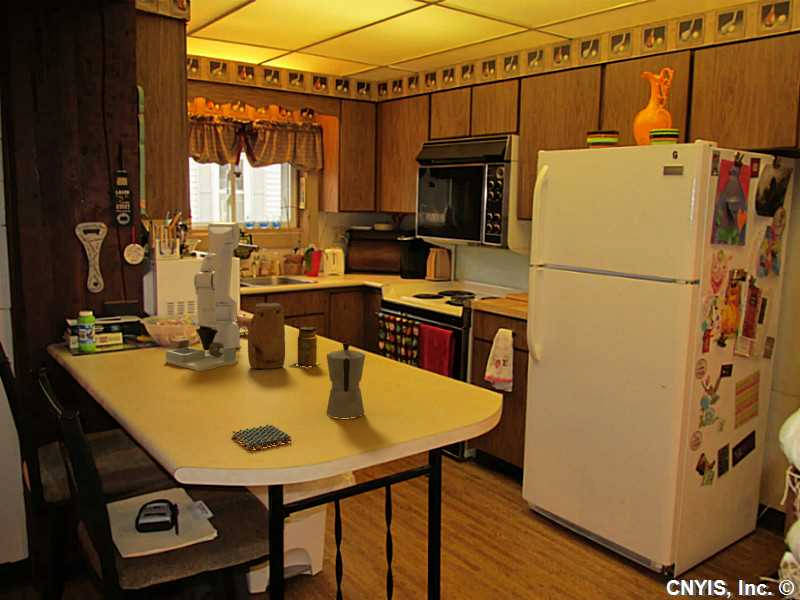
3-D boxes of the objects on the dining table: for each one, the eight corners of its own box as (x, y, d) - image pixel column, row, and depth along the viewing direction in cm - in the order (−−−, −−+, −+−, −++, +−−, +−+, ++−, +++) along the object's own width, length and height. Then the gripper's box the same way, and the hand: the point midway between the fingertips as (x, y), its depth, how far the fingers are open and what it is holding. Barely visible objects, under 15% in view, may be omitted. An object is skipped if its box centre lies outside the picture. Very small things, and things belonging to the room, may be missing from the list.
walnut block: (180, 355, 227) (180, 337, 226) (189, 357, 224) (188, 339, 224) (170, 357, 224) (169, 339, 223) (178, 359, 221) (178, 341, 220)
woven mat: (249, 454, 142) (249, 445, 141) (229, 439, 150) (229, 431, 150) (294, 445, 148) (294, 436, 148) (273, 431, 156) (273, 422, 156)
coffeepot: (326, 406, 175) (326, 337, 172) (363, 406, 175) (364, 337, 173) (325, 425, 159) (326, 350, 157) (366, 425, 160) (367, 350, 158)
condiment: (321, 363, 220) (322, 327, 218) (308, 369, 212) (308, 331, 210) (302, 361, 223) (302, 325, 221) (288, 366, 215) (288, 329, 213)
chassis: (205, 354, 229) (205, 338, 228) (238, 362, 219) (238, 346, 218) (166, 362, 217) (165, 345, 216) (199, 371, 207) (198, 353, 206)
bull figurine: (241, 331, 270) (241, 311, 269) (258, 337, 260) (258, 316, 259) (231, 332, 267) (231, 312, 266) (247, 338, 257) (247, 317, 256)
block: (279, 363, 219) (279, 301, 217) (286, 368, 213) (286, 304, 210) (246, 366, 215) (245, 303, 212) (252, 371, 208) (251, 306, 205)
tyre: (219, 354, 223) (219, 341, 222) (224, 355, 221) (224, 342, 221) (208, 356, 219) (208, 343, 219) (213, 357, 218) (212, 344, 217)
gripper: (182, 307, 222) (183, 348, 224) (210, 312, 213) (211, 355, 215) (200, 305, 228) (201, 345, 230) (228, 310, 219) (229, 351, 221)
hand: (207, 349), depth 223 cm, fingers closed
